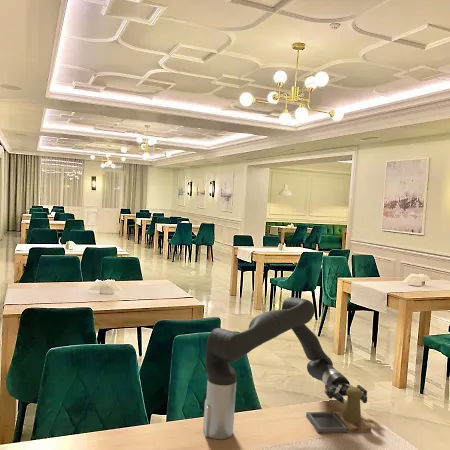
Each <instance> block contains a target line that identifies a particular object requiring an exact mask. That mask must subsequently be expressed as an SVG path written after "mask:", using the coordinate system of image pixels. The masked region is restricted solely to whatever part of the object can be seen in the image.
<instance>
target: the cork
mask: <svg viewBox="0 0 450 450" xmlns="http://www.w3.org/2000/svg"><path fill="white" fill-rule="evenodd" d="M346 393H347V396H346V397H347V399H346V403H345V409H344V411H343V412H344V416H343V419H344V420H345V421H347V422H350V423H360V422H361V418H362V415H361V414H362V413H361V411H362V410H361V400H360V398H361V397H362V391H361V390H360V389H359V388H357V386H353V387H349V388H348V389H347V392H346Z"/></svg>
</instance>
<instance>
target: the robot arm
mask: <svg viewBox="0 0 450 450" xmlns="http://www.w3.org/2000/svg"><path fill="white" fill-rule="evenodd" d="M315 310H316V308H315V306H314V304H313V302H312V301H310V300H308V299H306V298H301V297H293V296H292V297H287V298H285V299H284V300H283V302H282V304H281V309H275V310H269V311H266V312H263V313H260V314H258V315H257V316H255V317H254V318H253V319H251V321H250V323H249V325H248V329H246V330H244V331H241V332H235V331H231V330H228V329H225V328H220V327H217V328H214V329H212V330H211V331H210V333H209V335H208V338H207V340H206V350H205V370H206V373H207V385H206V398H205V400H204V411H203V424H202V425H203V427H202V428H203V433H204V436H205V437H206V438H210V439H215V440H224V439H229V438H230V437H232V436H233V435H234V420H235V408H236V407H235V405H236V393H237V380H238V378H237V377H238V376H237V374H238V373H237V372H236V370H235V369H234V367H232V366H231V365H230V363H235V362H237V361H239V360H240V359H242V358H243V357H245V356H247V354H248V353H250V352H251V351H253V350H254V349H256V348H258V347H259V346H261V345H263V344H265V343H267V342H269V341H271V340H273V339H275V338H277V337H278V336H280V335H281V334H284V333H286V332H288V331H290V330H292V332H293V333H294V335H295V336H296V338H297V339H298V342H299V343H300V345H301V347H302V348H303V352H304V354H305V357H306V358H307V360H309V362H308V363H307V364H306V370H307V373H308V374H309V376H311V377H312V378H314V379H315V380H318V381H320V382H322V383H323V384H324V394H325V395H326V396H327V398H328V399H334V400H336V401H337V402H338V403H340V404H344V397H348V396H347V393H346V392H347V389H348V388H349V387H354V386H353V385H351V383H350V380H349V379H347V377H346V376H344V375H343V374H342V373H341V372H340V371H339V370H337V369H336V368H335V367H334V364H333V363H334V362H333V361H332V359H331V358H330V357H329V355H327V354H326V353H325V351H324V350H323V347H322V345H321V343H320V341H319V338H318V336H316V334H315V333H314V332H313V331H312V330H311V329H310V328H309V327H308V326H307V325H306V324H308V323H309V322H310V321H312V319H313V317H314V316H315ZM356 387H357V388H359V389H360V390H361V391H362V397H361V398H360V402H362V403H363V404H367V402H368V390H366V389H365V388H364V387H363V386H361V385H360V384H357V385H356Z"/></svg>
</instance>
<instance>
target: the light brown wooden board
mask: <svg viewBox="0 0 450 450" xmlns="http://www.w3.org/2000/svg"><path fill="white" fill-rule="evenodd" d="M333 412H334V413H335V414H336V416H337V417H338V418H339V419H340V420H341V421H342V423H343V424H344V425H345V426H346V427H347V433H349V434H350V433H351V434H352V433H371V432H372V427H371V426H370V425H369V424H368V423H367V422H366V421H365V419H363V418H362V417H361V422H360V423H350V422H347V421H345V420H344V419H343V416H344V411H333Z"/></svg>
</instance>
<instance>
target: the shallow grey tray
mask: <svg viewBox="0 0 450 450" xmlns="http://www.w3.org/2000/svg"><path fill="white" fill-rule="evenodd" d="M334 412H335V411H308V412H306V413H305V417H306V418H307V420H308V421H309V422H310V424H311V425H312V426H313V428H314V429H315V430H316V432H317V433H318V434H345V433H348V431H347V427H346V426H345V425H344V424H343V423H342V421H341V420H340V419H339V418H338V417H337V416H336V414H335V413H334Z"/></svg>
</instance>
